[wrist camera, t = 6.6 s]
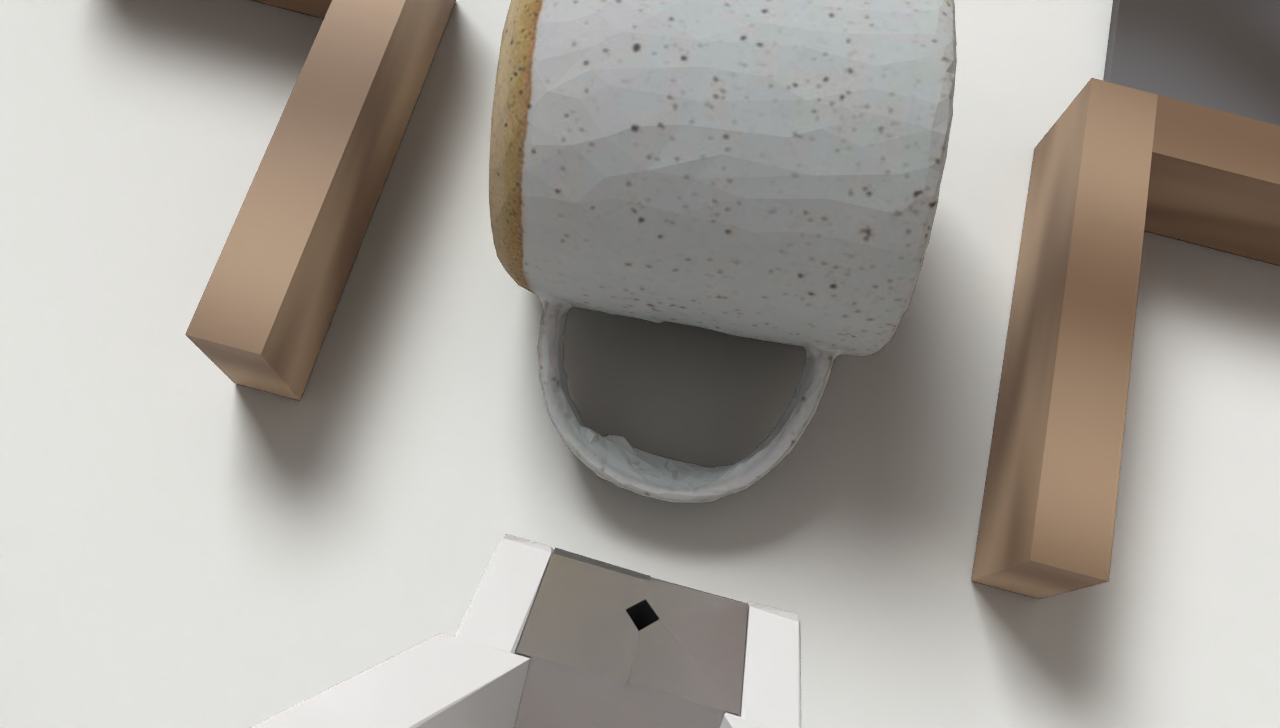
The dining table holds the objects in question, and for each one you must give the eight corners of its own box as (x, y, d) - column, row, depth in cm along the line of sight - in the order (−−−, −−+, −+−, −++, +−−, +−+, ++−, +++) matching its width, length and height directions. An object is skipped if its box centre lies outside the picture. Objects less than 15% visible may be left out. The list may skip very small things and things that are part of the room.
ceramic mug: (541, 70, 26) (526, -181, 18) (866, 110, 26) (981, -122, 18) (474, 488, 22) (424, 386, 15) (848, 532, 22) (979, 452, 15)
